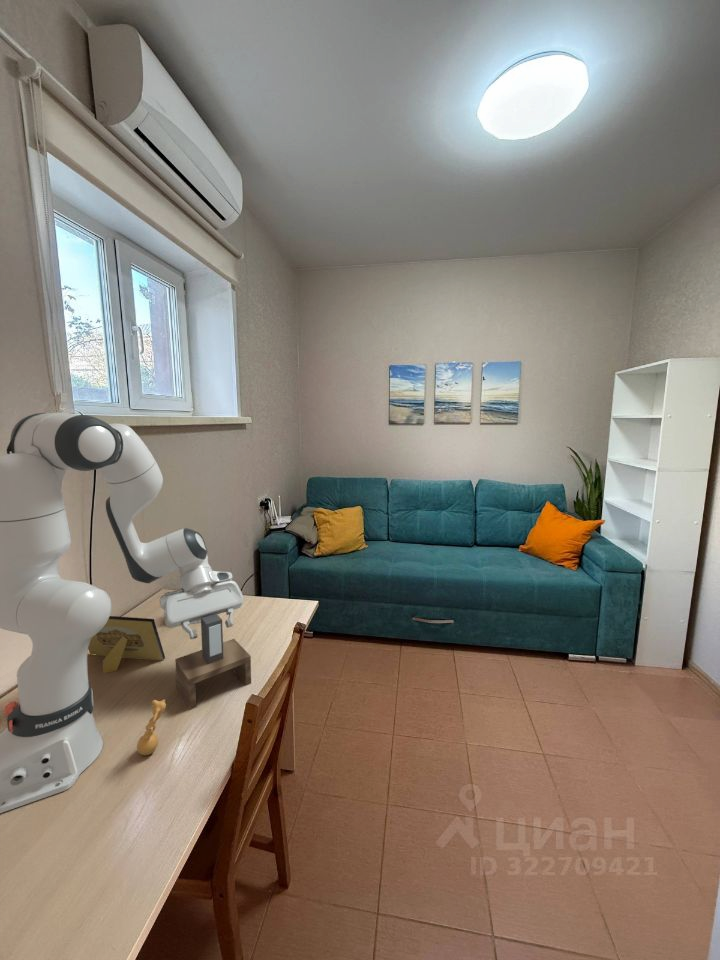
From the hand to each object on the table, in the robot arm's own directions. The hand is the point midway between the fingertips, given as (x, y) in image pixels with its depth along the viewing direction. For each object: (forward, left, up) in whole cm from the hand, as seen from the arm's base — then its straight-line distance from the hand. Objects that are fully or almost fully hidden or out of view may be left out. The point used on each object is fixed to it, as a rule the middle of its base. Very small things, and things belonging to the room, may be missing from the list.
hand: (212, 632), depth 103 cm
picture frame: (-18, +27, -16) cm, 36 cm away
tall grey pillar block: (0, 0, -7) cm, 7 cm away
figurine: (-18, -13, -16) cm, 27 cm away
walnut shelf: (0, 0, -15) cm, 15 cm away
